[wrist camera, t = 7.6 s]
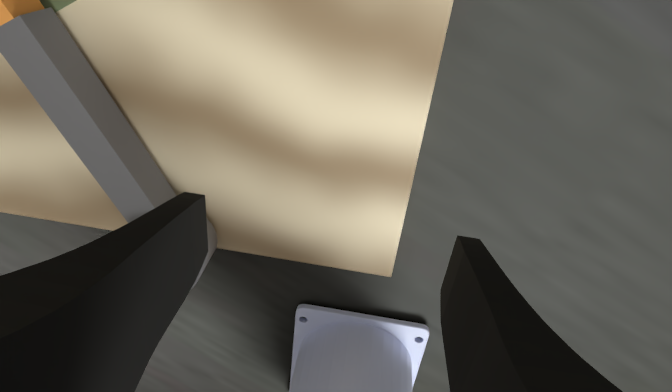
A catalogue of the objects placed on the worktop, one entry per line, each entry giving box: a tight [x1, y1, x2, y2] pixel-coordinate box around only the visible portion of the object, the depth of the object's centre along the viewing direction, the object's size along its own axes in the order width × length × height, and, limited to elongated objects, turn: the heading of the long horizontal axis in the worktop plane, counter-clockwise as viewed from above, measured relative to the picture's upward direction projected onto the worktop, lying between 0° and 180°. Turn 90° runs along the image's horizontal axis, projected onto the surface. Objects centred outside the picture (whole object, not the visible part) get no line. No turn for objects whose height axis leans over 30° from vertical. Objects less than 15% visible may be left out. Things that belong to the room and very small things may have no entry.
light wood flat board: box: [0, 0, 453, 277], centre depth 21 cm, size 15×23×1 cm, turn 84°
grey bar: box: [0, 0, 218, 289], centre depth 20 cm, size 15×4×3 cm, turn 23°
